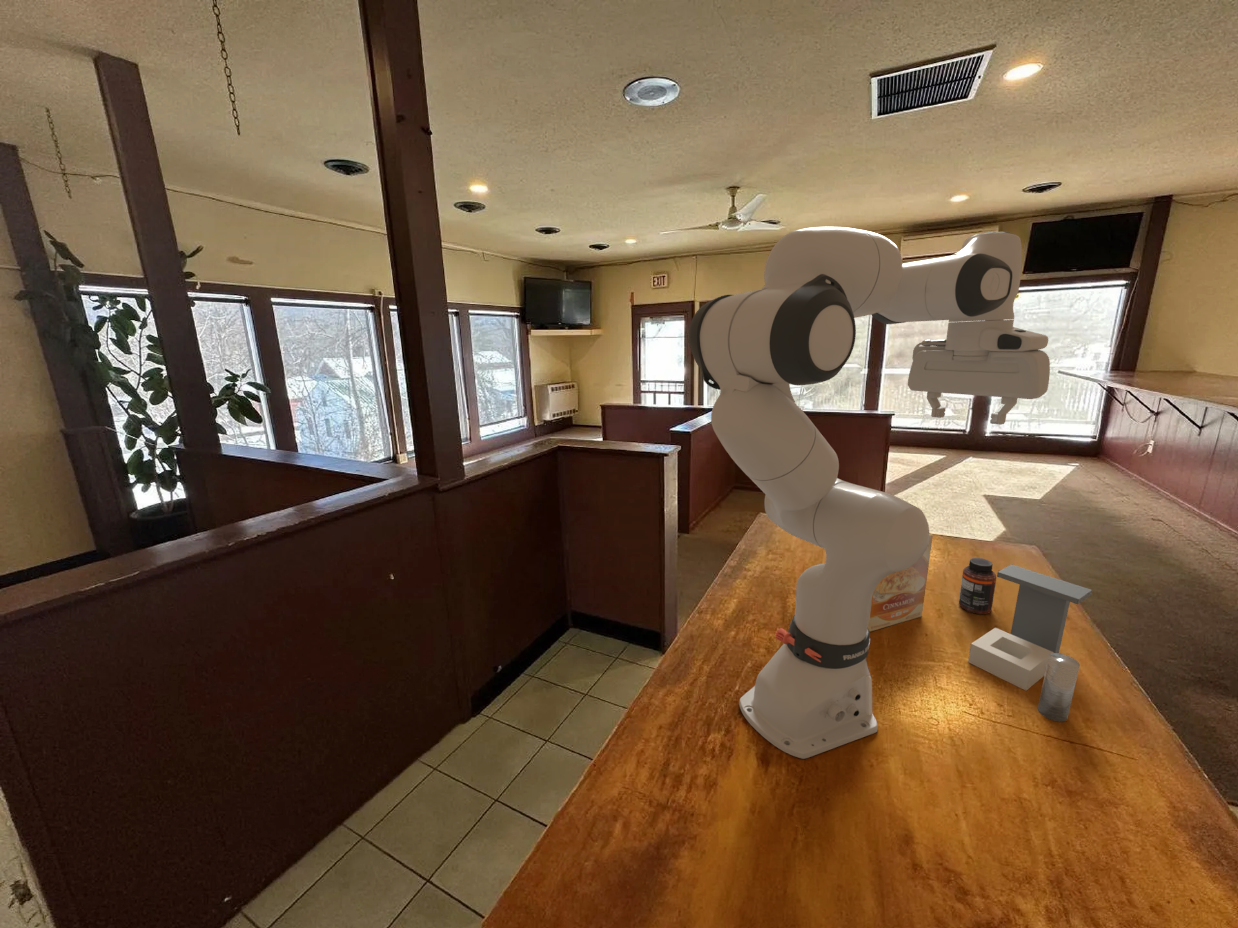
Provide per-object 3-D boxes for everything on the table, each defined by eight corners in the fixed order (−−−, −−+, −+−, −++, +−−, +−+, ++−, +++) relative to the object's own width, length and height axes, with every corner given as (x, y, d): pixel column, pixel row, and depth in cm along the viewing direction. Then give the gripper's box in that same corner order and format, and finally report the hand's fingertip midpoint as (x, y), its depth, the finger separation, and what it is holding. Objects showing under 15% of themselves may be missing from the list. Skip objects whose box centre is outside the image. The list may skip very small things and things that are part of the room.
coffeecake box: (869, 632, 101) (877, 546, 96) (843, 615, 107) (850, 533, 102) (924, 617, 105) (934, 534, 100) (896, 600, 112) (905, 522, 107)
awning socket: (1036, 695, 82) (1053, 617, 78) (959, 657, 92) (970, 586, 88) (1075, 662, 89) (1092, 589, 85) (999, 630, 99) (1011, 564, 95)
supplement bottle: (980, 600, 110) (987, 555, 107) (997, 615, 104) (1005, 567, 101) (952, 600, 111) (959, 555, 108) (967, 615, 105) (975, 567, 102)
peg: (1061, 725, 76) (1074, 670, 73) (1033, 710, 79) (1044, 658, 76) (1071, 715, 77) (1083, 662, 75) (1043, 702, 80) (1054, 650, 78)
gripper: (904, 340, 88) (897, 415, 92) (1043, 338, 71) (1027, 430, 75) (924, 339, 91) (916, 411, 95) (1061, 337, 74) (1045, 425, 78)
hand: (966, 420), depth 85 cm, fingers open, 8 cm apart
